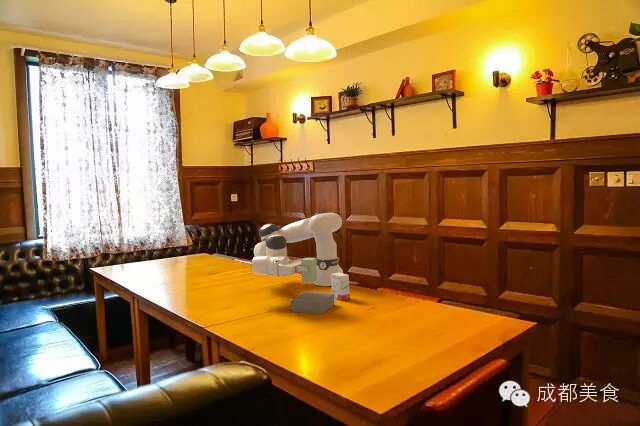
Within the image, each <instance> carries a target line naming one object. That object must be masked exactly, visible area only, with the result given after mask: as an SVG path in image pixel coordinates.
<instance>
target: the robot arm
mask: <svg viewBox="0 0 640 426" xmlns="http://www.w3.org/2000/svg"><path fill="white" fill-rule="evenodd" d="M342 225H343V219H342V217H341V215H339V214H338V213H335V212H324V213H319V214H316V215H313V216H311V217H309V218H304V219H301V220H298V221H294V222H292V223H289V224H286V225H284V226H283V227H281V226H280V225H277V224H274V223H266V224H264V225H263V226H262V227H260V228H259V229H258V235H259V238H260V240H261V242H258V243H256V244H255V245H254V248H253V254H254V256H253V258H252V259H251V263H250V264H251V271H252V272H253V273H254V274H258V275H265V276H274V277H275V278H276V277H277V278H278V277H288V276H293V275H295V274H297V273H299V272H301V273H302V271H308V270H309V269H308V267H301V259H293V260H292V259H290V257H289V256H288V255H289V254H288V252H289V251H288V248H287V244H288V243H289V244H290V243H297V242H302V241H304V240H309V239H311V238H314V241H315V246H316V257H315V258H316V267H317V280H316V281H314V282H313V283H312V284H314V285H315V286H318V287H319V286H320V287H332V284H331V274H333V273H343V274H344V270H343V268H341V266H340V265H339V261H340V257H338V251H337V250H338V249H337V248H338V247H337V246H338V245H337V243H336V241H335V240H334V236H333V233H335V232H337V231H338V230H339V229H341V227H342Z"/></svg>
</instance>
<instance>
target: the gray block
mask: <svg viewBox="0 0 640 426" xmlns="http://www.w3.org/2000/svg"><path fill="white" fill-rule="evenodd" d="M334 305H335V298H334V294H332V292H330V293H327V292H318V291H317V292H316V291H315V292H314V291H305V292H303V293H301V294H298V295H297V296H295V297H294V298H292V299H290V312H293V313H294V312H295V313H303V314H304V313H305V314H313V315H314V314H316V315H322V314H324V313H325V312H327V310H329V309H330V308H332V307H333V306H334Z"/></svg>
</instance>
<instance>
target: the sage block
mask: <svg viewBox="0 0 640 426" xmlns="http://www.w3.org/2000/svg"><path fill="white" fill-rule="evenodd" d="M316 258H317V257H304V258H302V259H301V258H300V260H301V267H308V269H309V270H308V271H301V283H310V284H314V283H313V282H314V281H316V280H317V267H316V266H317V265H316Z"/></svg>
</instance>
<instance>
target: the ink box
mask: <svg viewBox="0 0 640 426" xmlns="http://www.w3.org/2000/svg"><path fill="white" fill-rule="evenodd" d="M349 277H350V275H349V274H346V273H344V272H343V273H333V274H331V284H332V286H331V294H334V300H340V301H347V300H350V299H351V295H350V294H351V293H350V279H349Z"/></svg>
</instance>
